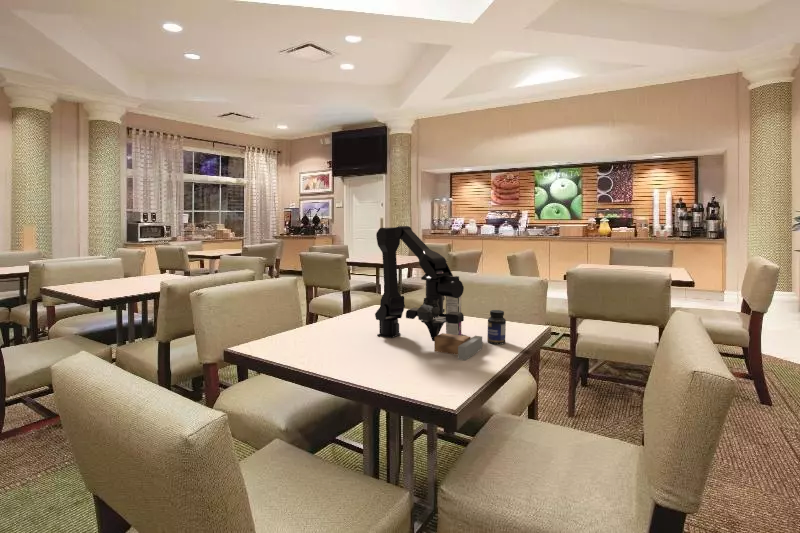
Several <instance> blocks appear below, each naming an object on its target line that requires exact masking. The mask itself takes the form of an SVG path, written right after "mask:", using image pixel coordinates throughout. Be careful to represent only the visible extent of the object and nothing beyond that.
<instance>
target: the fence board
mask: <svg viewBox="0 0 800 533" xmlns="http://www.w3.org/2000/svg"><path fill="white" fill-rule="evenodd" d="M482 349H483V336H481V335H474V336H473V337H470V339H469V340H468V341H466V342H464V343H463V344H461V345H459V346H458V355H457V360H460V361H461V360H462V361H467V360H468V359H469V358H470V357H472V356H473V355H475V354H476V353H478V352H479V351H480V350H482Z"/></svg>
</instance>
